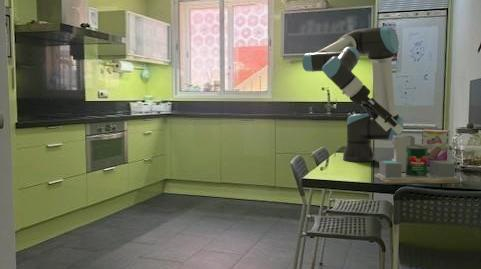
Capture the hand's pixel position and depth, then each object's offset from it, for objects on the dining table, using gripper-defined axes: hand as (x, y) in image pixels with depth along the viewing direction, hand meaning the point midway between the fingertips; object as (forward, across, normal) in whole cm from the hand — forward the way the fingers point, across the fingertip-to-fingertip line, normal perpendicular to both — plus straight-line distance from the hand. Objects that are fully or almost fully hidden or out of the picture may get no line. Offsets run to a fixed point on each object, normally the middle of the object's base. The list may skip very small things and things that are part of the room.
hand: (394, 130), depth 179 cm
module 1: (+11, 0, -13) cm, 17 cm away
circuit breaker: (+24, -20, -4) cm, 31 cm away
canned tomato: (+18, 0, -6) cm, 20 cm away
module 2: (+25, 0, +1) cm, 25 cm away
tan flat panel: (+20, 0, -7) cm, 21 cm away
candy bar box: (+36, -35, +8) cm, 51 cm away
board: (+20, 0, -7) cm, 21 cm away
